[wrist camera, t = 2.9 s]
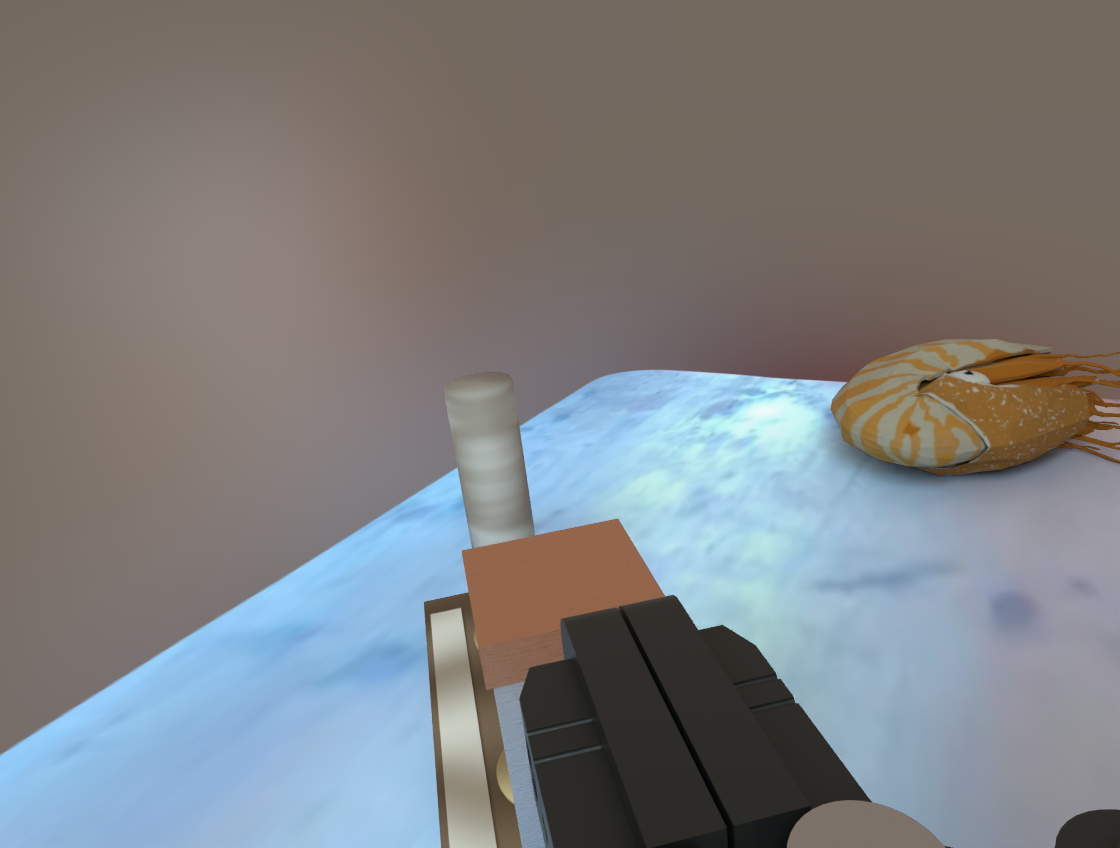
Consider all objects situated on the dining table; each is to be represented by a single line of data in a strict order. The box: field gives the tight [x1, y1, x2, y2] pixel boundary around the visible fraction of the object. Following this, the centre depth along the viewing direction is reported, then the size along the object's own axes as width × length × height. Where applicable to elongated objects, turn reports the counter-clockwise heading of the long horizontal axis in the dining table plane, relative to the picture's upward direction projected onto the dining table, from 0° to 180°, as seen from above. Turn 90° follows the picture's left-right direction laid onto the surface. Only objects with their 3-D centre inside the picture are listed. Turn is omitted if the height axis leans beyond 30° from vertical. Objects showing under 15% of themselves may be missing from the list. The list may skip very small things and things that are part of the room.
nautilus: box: [831, 339, 1120, 476], centre depth 51 cm, size 8×22×15 cm
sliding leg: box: [462, 519, 665, 848], centre depth 19 cm, size 4×4×13 cm
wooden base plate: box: [424, 372, 535, 848], centre depth 28 cm, size 27×9×14 cm, turn 12°
